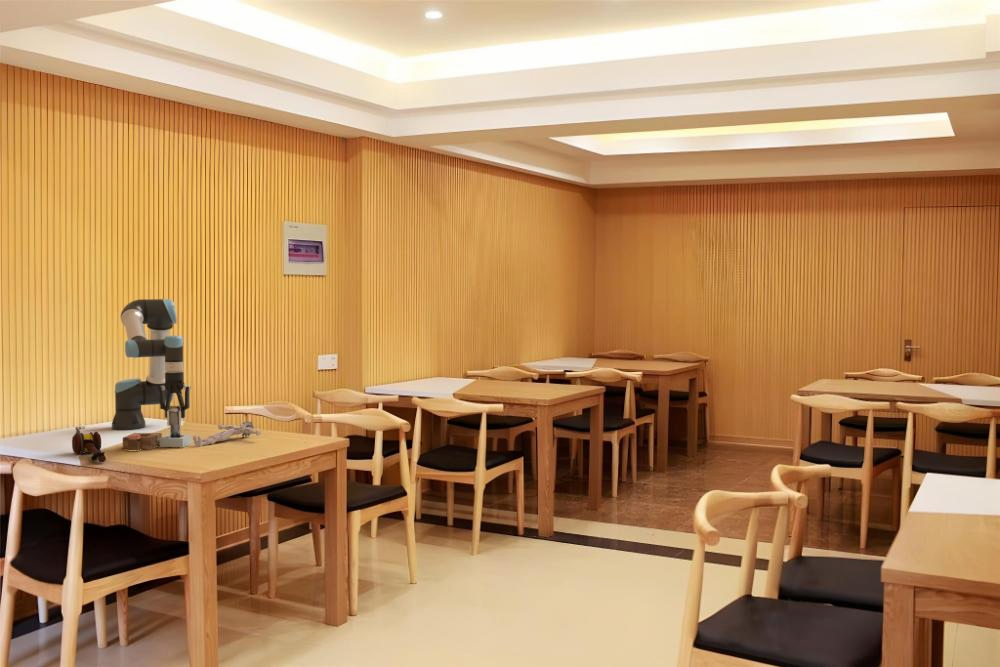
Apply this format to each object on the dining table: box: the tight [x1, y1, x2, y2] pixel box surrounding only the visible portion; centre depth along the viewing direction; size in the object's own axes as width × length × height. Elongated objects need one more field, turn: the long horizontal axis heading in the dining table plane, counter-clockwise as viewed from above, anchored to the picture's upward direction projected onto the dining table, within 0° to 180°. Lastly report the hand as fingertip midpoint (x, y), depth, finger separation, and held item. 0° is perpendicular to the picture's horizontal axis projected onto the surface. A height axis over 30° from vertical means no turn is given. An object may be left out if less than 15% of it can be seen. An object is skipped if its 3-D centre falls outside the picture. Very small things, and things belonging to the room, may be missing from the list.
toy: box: [192, 420, 262, 447], centre depth 397 cm, size 28×8×30 cm
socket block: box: [122, 432, 163, 451], centre depth 380 cm, size 16×12×5 cm
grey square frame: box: [159, 434, 192, 449], centre depth 385 cm, size 10×10×4 cm
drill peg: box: [169, 405, 181, 438], centre depth 385 cm, size 4×4×15 cm
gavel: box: [71, 426, 107, 463], centre depth 360 cm, size 10×34×10 cm
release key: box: [129, 433, 141, 442], centre depth 374 cm, size 4×4×6 cm
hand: (175, 425), depth 385 cm, fingers closed on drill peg, 4 cm apart
